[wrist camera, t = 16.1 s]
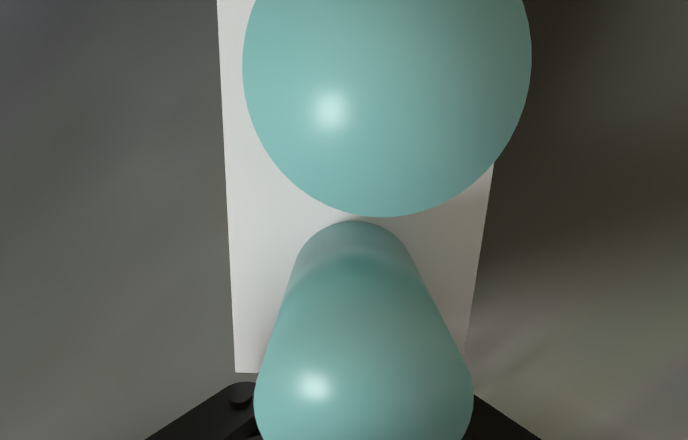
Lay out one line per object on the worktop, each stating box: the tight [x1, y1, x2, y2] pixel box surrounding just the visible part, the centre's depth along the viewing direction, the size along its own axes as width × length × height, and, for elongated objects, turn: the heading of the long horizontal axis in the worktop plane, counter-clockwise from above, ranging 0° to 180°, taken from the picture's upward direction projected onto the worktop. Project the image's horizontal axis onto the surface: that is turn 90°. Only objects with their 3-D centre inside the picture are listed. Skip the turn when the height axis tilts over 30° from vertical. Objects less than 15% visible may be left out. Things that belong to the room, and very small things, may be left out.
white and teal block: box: [217, 0, 532, 440], centre depth 8 cm, size 6×14×9 cm, turn 178°
